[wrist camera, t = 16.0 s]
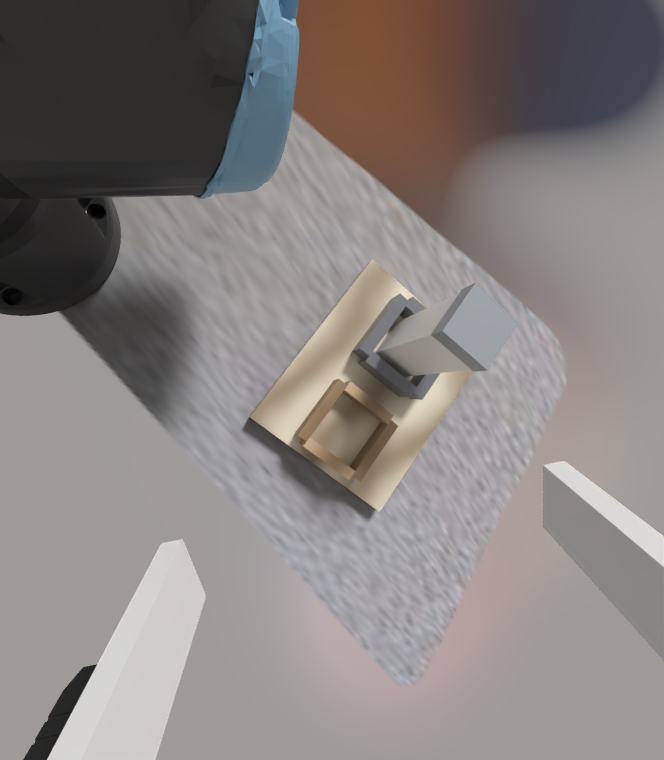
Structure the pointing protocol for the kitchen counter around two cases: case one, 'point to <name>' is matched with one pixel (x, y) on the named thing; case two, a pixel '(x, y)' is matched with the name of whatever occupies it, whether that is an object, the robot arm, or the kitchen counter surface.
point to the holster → (370, 447)
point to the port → (379, 366)
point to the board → (346, 418)
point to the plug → (449, 335)
